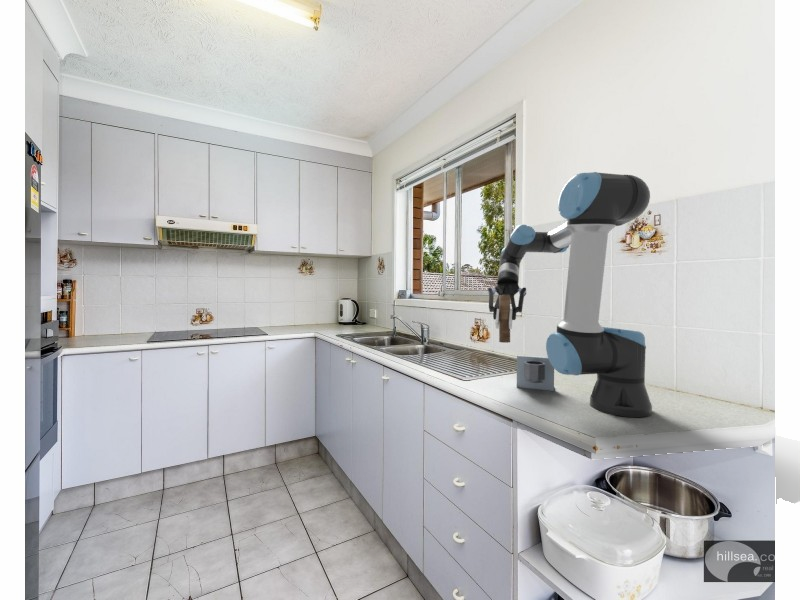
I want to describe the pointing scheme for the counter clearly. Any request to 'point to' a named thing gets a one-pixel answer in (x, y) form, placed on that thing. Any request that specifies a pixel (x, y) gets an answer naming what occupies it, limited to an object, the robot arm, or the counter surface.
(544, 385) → the wall board
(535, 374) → the cup bracket
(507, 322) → the rail post
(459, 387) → the counter surface
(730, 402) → the counter surface
